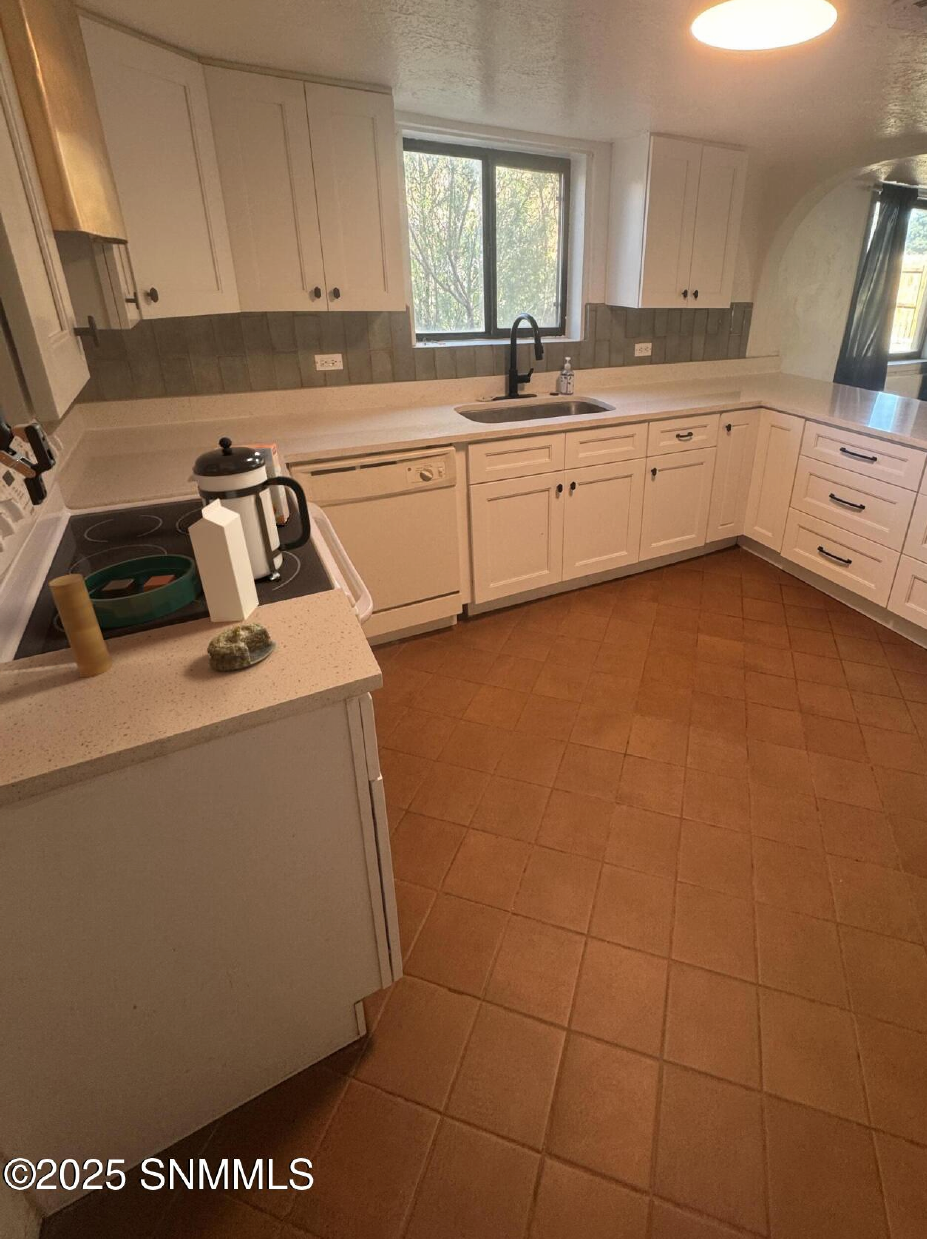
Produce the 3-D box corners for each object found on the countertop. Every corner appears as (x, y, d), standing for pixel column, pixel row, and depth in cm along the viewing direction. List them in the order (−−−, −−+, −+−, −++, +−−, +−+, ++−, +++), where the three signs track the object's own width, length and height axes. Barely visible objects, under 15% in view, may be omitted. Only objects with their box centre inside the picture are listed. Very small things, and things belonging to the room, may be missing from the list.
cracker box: (290, 518, 154) (276, 441, 147) (285, 526, 148) (271, 447, 141) (234, 523, 151) (216, 445, 144) (226, 531, 146) (208, 451, 139)
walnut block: (106, 609, 109) (100, 590, 107) (117, 599, 112) (111, 580, 111) (130, 606, 110) (124, 588, 108) (140, 596, 113) (134, 578, 112)
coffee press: (246, 601, 112) (213, 451, 102) (198, 583, 119) (162, 441, 109) (320, 566, 126) (296, 431, 116) (272, 552, 134) (247, 424, 123)
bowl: (59, 637, 101) (48, 606, 99) (114, 585, 119) (106, 559, 117) (179, 623, 105) (171, 594, 103) (215, 575, 123) (209, 550, 121)
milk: (259, 606, 110) (237, 497, 103) (245, 623, 104) (220, 509, 97) (227, 607, 110) (202, 498, 102) (210, 624, 104) (183, 510, 97)
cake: (197, 677, 90) (186, 648, 89) (228, 642, 100) (219, 615, 98) (260, 670, 90) (251, 640, 89) (285, 635, 100) (277, 608, 98)
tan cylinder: (75, 679, 90) (42, 587, 84) (89, 664, 93) (58, 575, 88) (103, 675, 90) (73, 584, 85) (116, 660, 94) (88, 572, 89)
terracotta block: (148, 604, 110) (142, 586, 109) (157, 594, 114) (151, 576, 112) (171, 602, 111) (165, 583, 109) (179, 592, 115) (174, 574, 113)
